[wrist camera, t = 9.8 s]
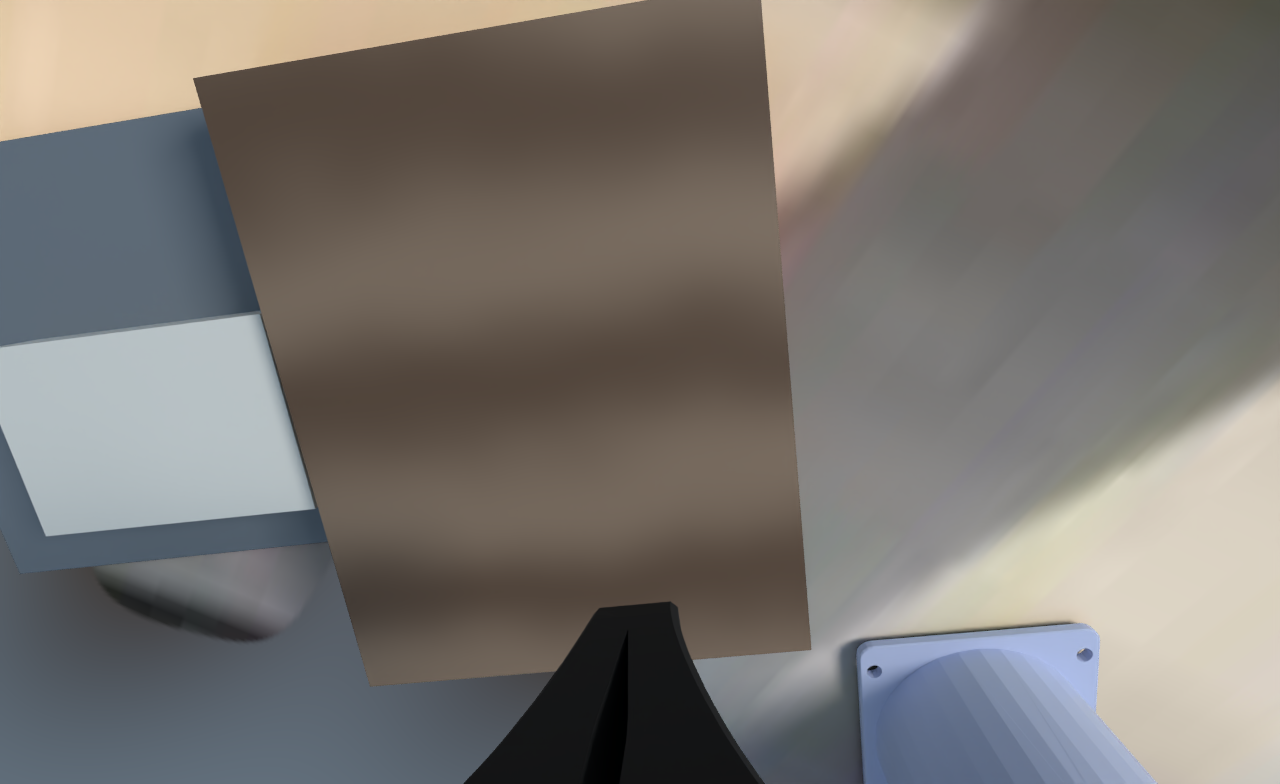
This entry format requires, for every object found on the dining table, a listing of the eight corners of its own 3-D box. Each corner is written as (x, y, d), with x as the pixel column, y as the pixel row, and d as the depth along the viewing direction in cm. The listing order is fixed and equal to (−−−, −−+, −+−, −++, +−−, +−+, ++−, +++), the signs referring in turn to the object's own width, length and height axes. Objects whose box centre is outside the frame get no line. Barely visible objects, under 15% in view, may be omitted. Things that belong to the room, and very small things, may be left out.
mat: (368, 531, 22) (361, 538, 21) (33, 566, 23) (20, 574, 22) (252, 104, 18) (241, 101, 18) (-137, 169, 19) (-158, 167, 19)
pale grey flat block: (301, 305, 19) (259, 313, 17) (348, 482, 21) (315, 508, 19) (37, 339, 20) (-30, 351, 18) (102, 508, 22) (45, 536, 20)
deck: (792, 593, 22) (811, 649, 19) (408, 628, 23) (370, 686, 20) (744, 22, 17) (759, -20, 14) (268, 101, 18) (192, 78, 15)
